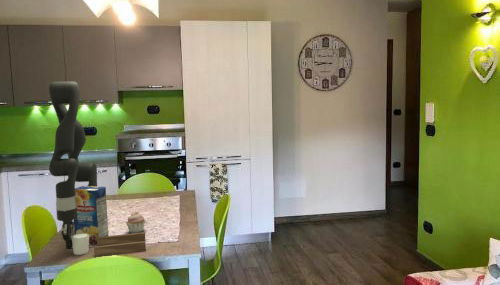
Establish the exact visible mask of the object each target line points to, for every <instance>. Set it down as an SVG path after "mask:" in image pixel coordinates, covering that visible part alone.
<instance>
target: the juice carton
mask: <svg viewBox="0 0 500 285" xmlns="http://www.w3.org/2000/svg"><path fill="white" fill-rule="evenodd" d="M75 197H76V203H77V218H76V219H73V222H74V229H73V233H74V235H76V234H81V233H87V234H89V245H95V246H97V237H104V236H110V235H109V224H108V223H109V222H108V221H109V220H108V209H107V208H108V205H107V203H108V202H107V188H106V186H98V185H97V186H88V185H82V186H78V187H75Z"/></svg>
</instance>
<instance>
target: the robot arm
mask: <svg viewBox="0 0 500 285" xmlns="http://www.w3.org/2000/svg"><path fill="white" fill-rule="evenodd" d="M80 91H81V89H80V87H79V84H78V82H76V81H69V80H68V81H53V82H52V81H51V82H50V84H49V86H48V93H49V97H50V101H51V103H52V107H53V109H54V112H55V114H56V117H57V120H58V123H59V125H58V126H57V128H56V130H55V136H54V139H55V141H54V150H53V153H52V156H51V158H50V162H49V166H48V171H49V173H50V175H51V176H53V177H67V179H66V180H63V181H59V182H57V183H56V184H55V197H56V198H55V206H56V208H55V209H56V219H57V221H60V222H62V224H61V229H62V230H61V235H62V239H63V241H65V249H66V250H72V249H73V245H72V238H71V237H72V236H73V235H74V219H76V218H77V203H76V197H75V188H76V187H75V186H76V182H77V183H88V184H87V186H97V187H98V169H97V165H96V163H95V162H94V161H88V162H80V161H79V156H80V154H81V152H82V150H83V148H84V146H85V144H86V140H87V138H86V133H85V128H84V126H83V125H82V123H81V122H80V121H79V120H78V119H77V118H78V112H79V105H80V99H81V98H80V97H81V92H80ZM65 104H66V105H68V109H67V107H66V105H65ZM65 155H67V157H68V158H63V157H64V156H65Z"/></svg>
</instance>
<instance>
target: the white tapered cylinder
mask: <svg viewBox="0 0 500 285" xmlns="http://www.w3.org/2000/svg"><path fill="white" fill-rule="evenodd" d="M71 238H72V249H73V255H78V256H80V255H84V254H87V253H89V252H90V251H89V249H90V248H89V247H90V246H89V245H90V244H89V234H87V233H81V234H76V235H75V234H73V236H72V237H71Z"/></svg>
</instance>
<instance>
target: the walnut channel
mask: <svg viewBox="0 0 500 285" xmlns="http://www.w3.org/2000/svg"><path fill="white" fill-rule="evenodd" d="M142 251H144V252H145V251H147V247H146V232H143V231H142V232H140V233H125V234H116V235H109V236H104V237H97V245H95V246H94V247H93V254H94V256H93V257H99V256H100V257H101V256H108V255H118V254H119V255H120V254H127V253H134V252H142Z"/></svg>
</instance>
